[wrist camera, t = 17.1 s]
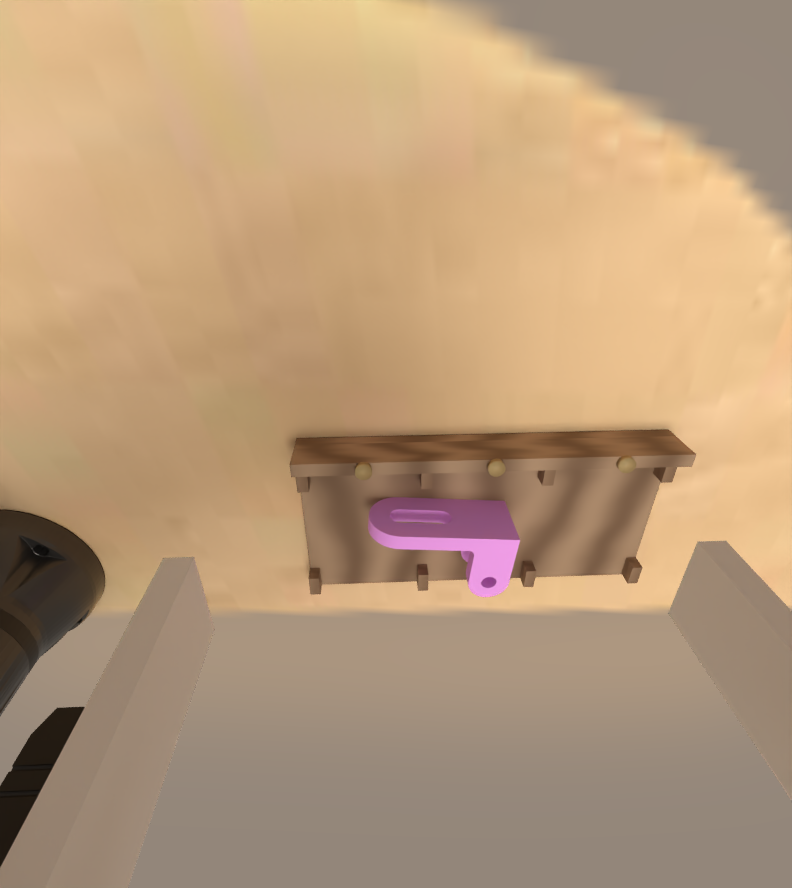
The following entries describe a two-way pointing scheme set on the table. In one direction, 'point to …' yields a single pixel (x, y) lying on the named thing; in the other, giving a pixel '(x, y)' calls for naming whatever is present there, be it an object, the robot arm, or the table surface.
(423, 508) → the bracket
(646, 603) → the table surface
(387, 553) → the ledge
